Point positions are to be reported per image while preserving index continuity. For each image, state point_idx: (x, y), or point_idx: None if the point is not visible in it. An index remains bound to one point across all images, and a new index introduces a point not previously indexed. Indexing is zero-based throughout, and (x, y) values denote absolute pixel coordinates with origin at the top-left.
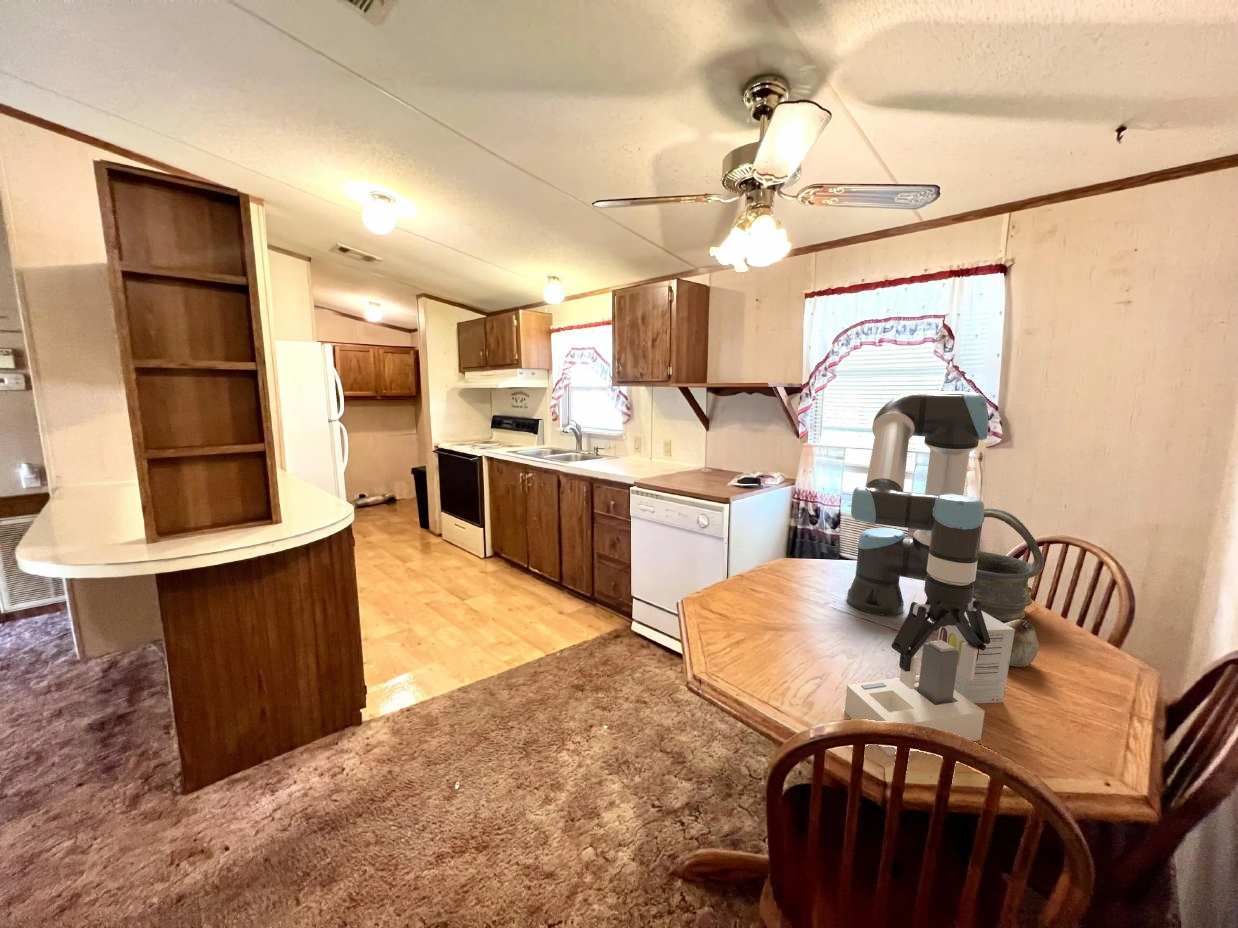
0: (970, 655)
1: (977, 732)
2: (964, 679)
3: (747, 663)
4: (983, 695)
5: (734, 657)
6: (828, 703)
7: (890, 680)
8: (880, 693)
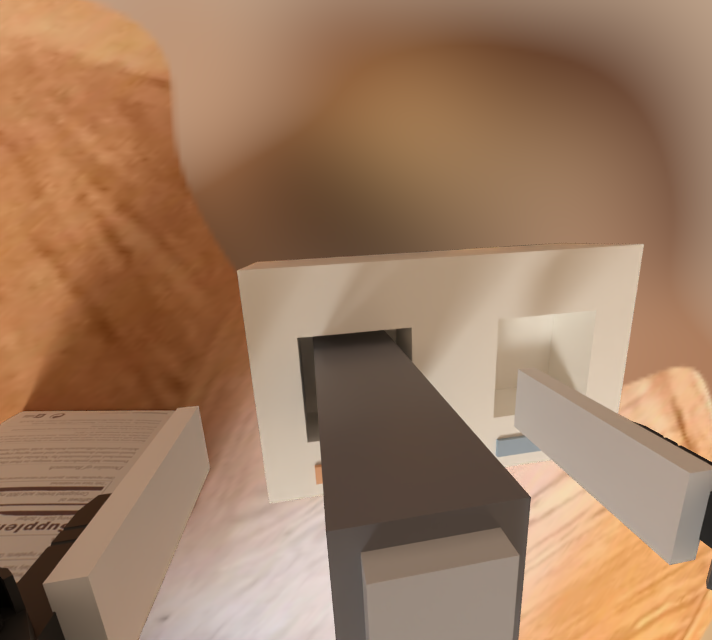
0: (137, 532)
1: (270, 262)
2: None
3: (635, 574)
4: (90, 424)
5: (648, 594)
6: None
7: None
8: None
